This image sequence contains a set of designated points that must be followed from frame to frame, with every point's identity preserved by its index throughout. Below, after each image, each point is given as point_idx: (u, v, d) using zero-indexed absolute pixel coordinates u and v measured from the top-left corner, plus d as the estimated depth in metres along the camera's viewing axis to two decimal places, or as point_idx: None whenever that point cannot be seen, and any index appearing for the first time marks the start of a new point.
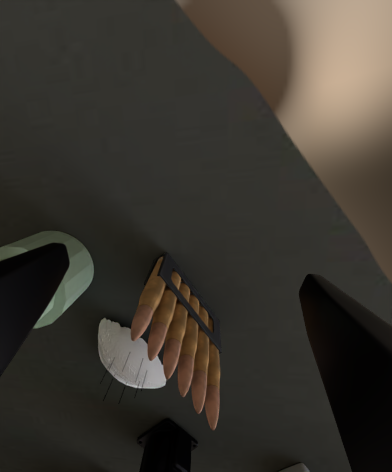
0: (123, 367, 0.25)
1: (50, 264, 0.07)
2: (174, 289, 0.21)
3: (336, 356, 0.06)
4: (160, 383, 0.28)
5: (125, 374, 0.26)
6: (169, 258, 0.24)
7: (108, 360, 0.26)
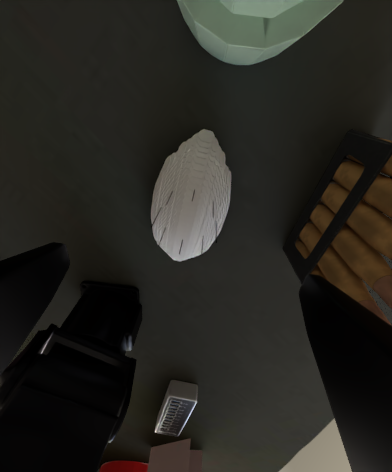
0: (189, 210, 0.16)
1: (50, 264, 0.07)
2: None
3: (336, 356, 0.06)
4: (184, 257, 0.21)
5: (181, 219, 0.17)
6: None
7: (176, 185, 0.16)
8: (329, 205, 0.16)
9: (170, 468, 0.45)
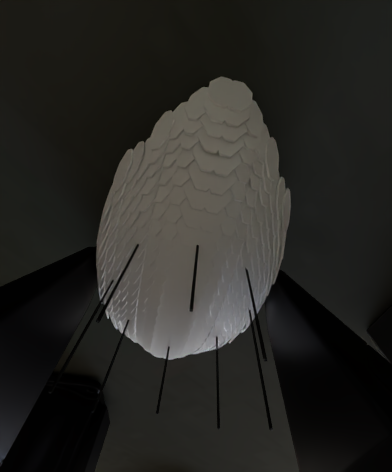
0: (185, 296, 0.06)
1: (89, 269, 0.07)
2: None
3: (288, 350, 0.06)
4: None
5: (162, 313, 0.07)
6: None
7: (146, 231, 0.06)
8: None
9: None
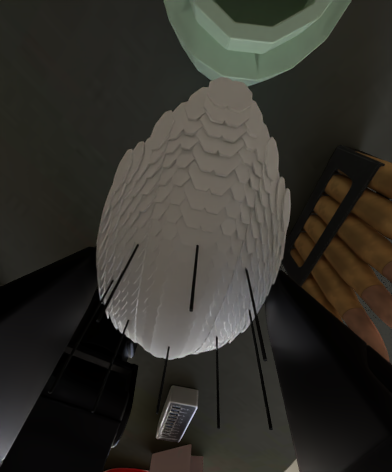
0: (185, 296, 0.06)
1: (89, 269, 0.07)
2: None
3: (288, 350, 0.06)
4: None
5: (162, 313, 0.07)
6: None
7: (146, 231, 0.06)
8: (321, 216, 0.17)
9: None
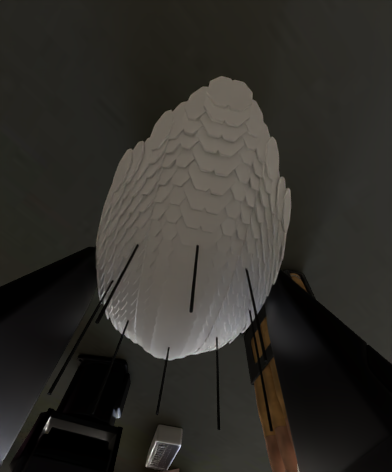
0: (185, 296, 0.06)
1: (89, 269, 0.07)
2: None
3: (288, 350, 0.06)
4: None
5: (162, 314, 0.07)
6: (303, 283, 0.20)
7: (146, 232, 0.06)
8: None
9: None
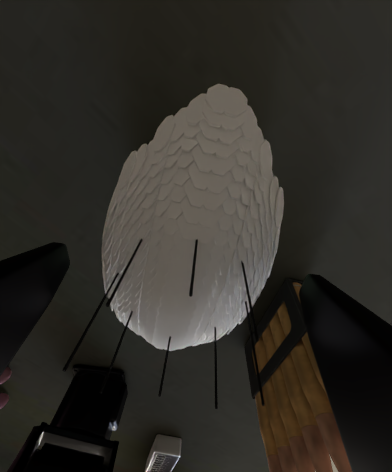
0: (185, 287, 0.07)
1: (50, 264, 0.07)
2: None
3: (336, 356, 0.06)
4: None
5: (164, 304, 0.07)
6: None
7: (149, 227, 0.06)
8: (273, 336, 0.20)
9: None
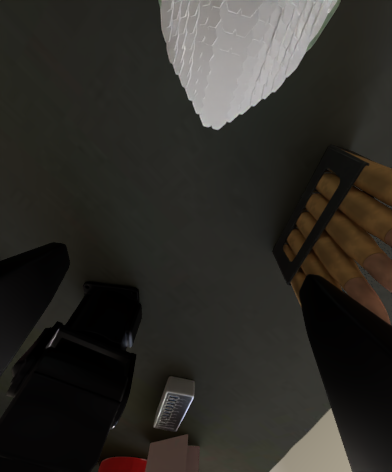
0: None
1: (50, 264, 0.07)
2: None
3: (336, 356, 0.06)
4: (231, 102, 0.09)
5: None
6: None
7: None
8: (312, 213, 0.18)
9: (169, 463, 0.46)
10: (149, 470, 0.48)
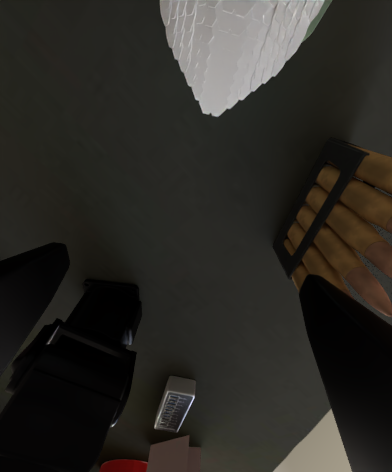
0: None
1: (50, 264, 0.07)
2: None
3: (336, 356, 0.06)
4: (231, 87, 0.09)
5: None
6: None
7: None
8: (312, 206, 0.18)
9: (170, 464, 0.46)
10: None
